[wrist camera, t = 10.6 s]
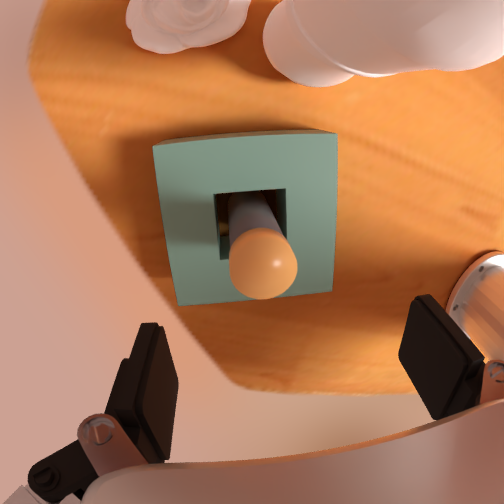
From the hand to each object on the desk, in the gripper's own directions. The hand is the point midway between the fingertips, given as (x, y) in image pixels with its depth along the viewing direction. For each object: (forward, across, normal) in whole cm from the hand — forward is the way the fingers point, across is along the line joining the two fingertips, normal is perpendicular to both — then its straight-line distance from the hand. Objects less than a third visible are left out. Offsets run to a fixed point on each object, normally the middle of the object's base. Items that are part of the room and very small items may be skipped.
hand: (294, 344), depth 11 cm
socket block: (+16, +1, 0) cm, 16 cm away
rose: (+17, +4, -18) cm, 25 cm away
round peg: (+16, +1, 0) cm, 16 cm away
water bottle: (+17, -4, -13) cm, 22 cm away
